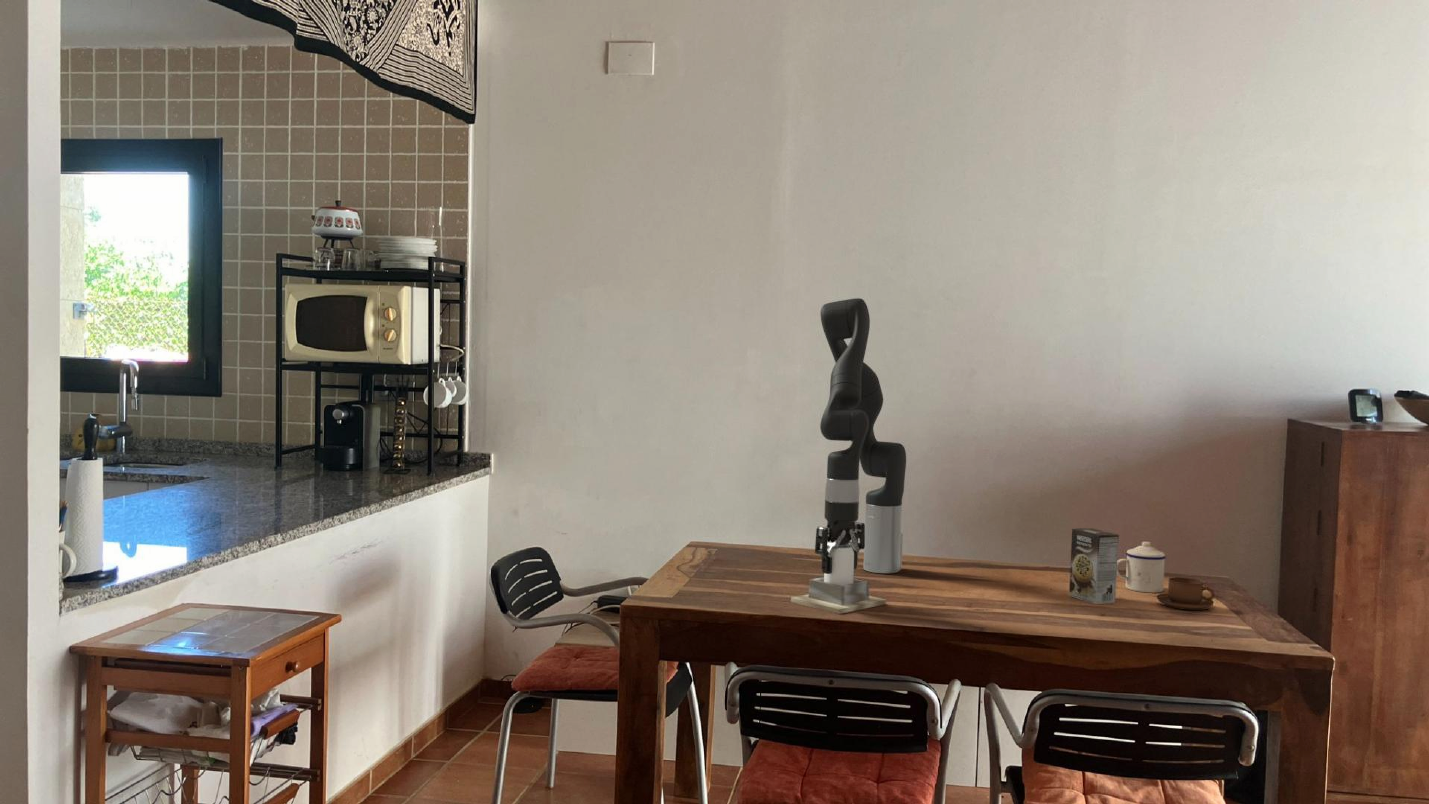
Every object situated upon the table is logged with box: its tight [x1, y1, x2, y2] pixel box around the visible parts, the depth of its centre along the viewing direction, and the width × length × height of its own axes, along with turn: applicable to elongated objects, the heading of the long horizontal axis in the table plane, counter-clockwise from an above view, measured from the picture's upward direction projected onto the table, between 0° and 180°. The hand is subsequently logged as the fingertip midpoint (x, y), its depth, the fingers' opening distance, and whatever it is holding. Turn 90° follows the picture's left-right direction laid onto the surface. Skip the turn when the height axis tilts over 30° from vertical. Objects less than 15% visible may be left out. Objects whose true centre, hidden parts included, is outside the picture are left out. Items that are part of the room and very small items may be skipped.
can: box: [823, 544, 855, 586], centre depth 249 cm, size 6×6×12 cm
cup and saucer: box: [1156, 576, 1216, 611], centre depth 256 cm, size 12×12×6 cm
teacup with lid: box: [1117, 541, 1167, 594], centre depth 274 cm, size 12×9×12 cm
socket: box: [790, 576, 887, 615], centre depth 249 cm, size 16×14×5 cm
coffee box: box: [1068, 527, 1120, 605], centre depth 260 cm, size 9×6×16 cm
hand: (839, 571), depth 249 cm, fingers open, 8 cm apart
